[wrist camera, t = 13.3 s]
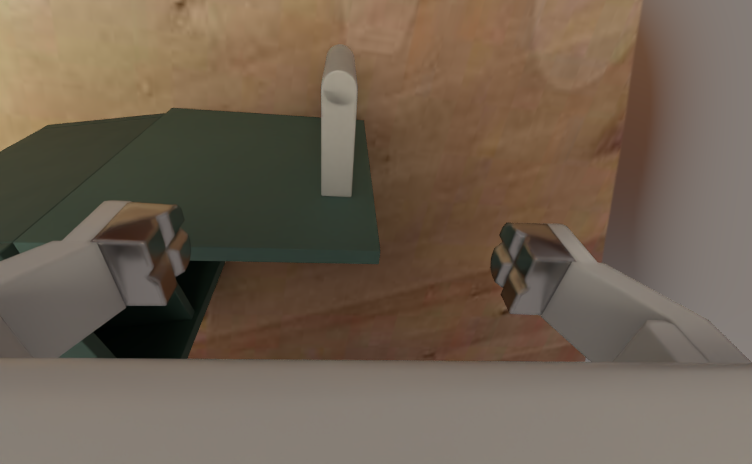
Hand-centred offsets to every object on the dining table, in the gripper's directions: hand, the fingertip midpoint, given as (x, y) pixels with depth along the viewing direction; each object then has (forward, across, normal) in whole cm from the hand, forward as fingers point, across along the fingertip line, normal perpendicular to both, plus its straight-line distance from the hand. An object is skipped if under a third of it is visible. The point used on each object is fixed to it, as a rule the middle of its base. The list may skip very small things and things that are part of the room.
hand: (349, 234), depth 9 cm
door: (+21, +6, +1) cm, 22 cm away
